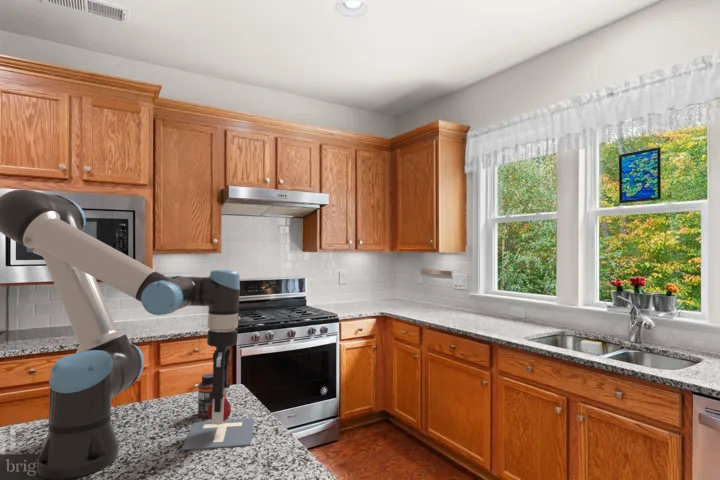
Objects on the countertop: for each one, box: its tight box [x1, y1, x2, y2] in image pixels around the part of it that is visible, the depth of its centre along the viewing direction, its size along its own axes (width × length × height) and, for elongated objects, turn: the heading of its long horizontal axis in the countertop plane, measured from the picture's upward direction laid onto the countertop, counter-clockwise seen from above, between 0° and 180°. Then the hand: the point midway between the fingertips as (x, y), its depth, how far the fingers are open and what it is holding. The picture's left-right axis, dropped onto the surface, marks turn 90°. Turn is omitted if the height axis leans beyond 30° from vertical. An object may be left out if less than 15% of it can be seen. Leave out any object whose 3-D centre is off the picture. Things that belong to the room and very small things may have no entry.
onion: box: [207, 397, 232, 425], centre depth 110 cm, size 6×6×8 cm
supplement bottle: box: [197, 372, 213, 418], centre depth 123 cm, size 6×6×11 cm
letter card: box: [181, 418, 255, 451], centre depth 110 cm, size 16×16×1 cm
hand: (218, 418), depth 110 cm, fingers closed on onion, 6 cm apart
